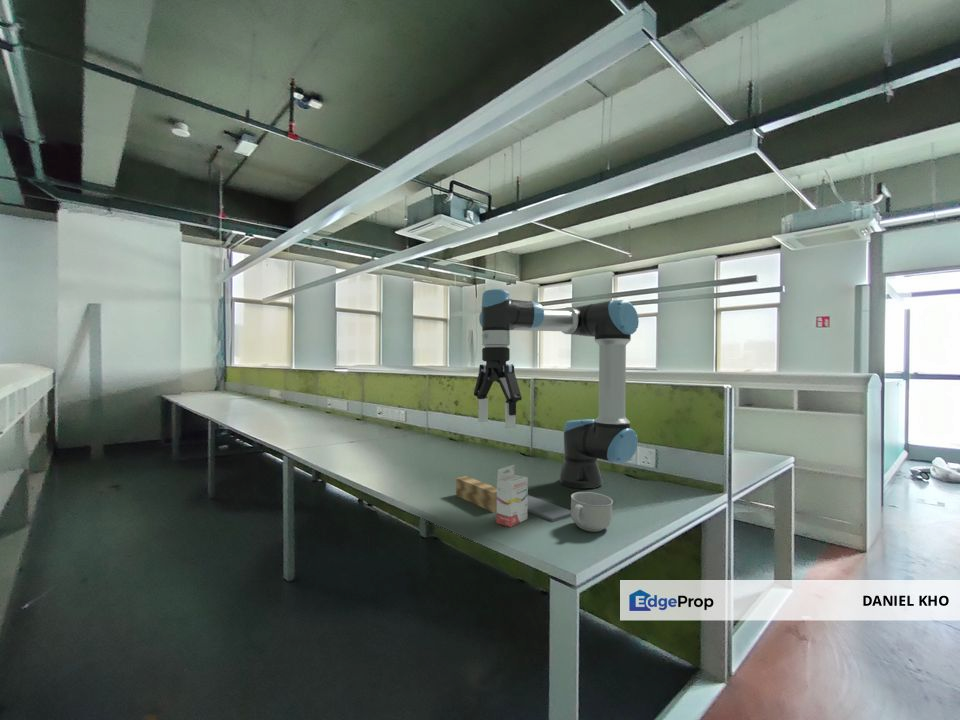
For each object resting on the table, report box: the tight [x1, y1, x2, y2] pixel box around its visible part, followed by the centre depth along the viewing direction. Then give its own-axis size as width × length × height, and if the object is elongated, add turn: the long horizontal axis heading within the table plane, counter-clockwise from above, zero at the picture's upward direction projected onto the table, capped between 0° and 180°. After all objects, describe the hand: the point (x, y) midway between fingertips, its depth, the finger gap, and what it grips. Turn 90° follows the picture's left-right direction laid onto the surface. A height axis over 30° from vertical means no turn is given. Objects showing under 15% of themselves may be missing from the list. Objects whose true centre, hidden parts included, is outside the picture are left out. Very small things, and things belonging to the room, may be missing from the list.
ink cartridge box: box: [496, 464, 529, 528], centre depth 116 cm, size 9×5×15 cm, turn 141°
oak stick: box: [455, 475, 497, 513], centre depth 132 cm, size 20×4×6 cm, turn 36°
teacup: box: [570, 491, 614, 533], centre depth 110 cm, size 14×11×8 cm
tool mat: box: [527, 494, 571, 522], centre depth 127 cm, size 9×22×1 cm, turn 36°
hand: (496, 424), depth 114 cm, fingers open, 13 cm apart
